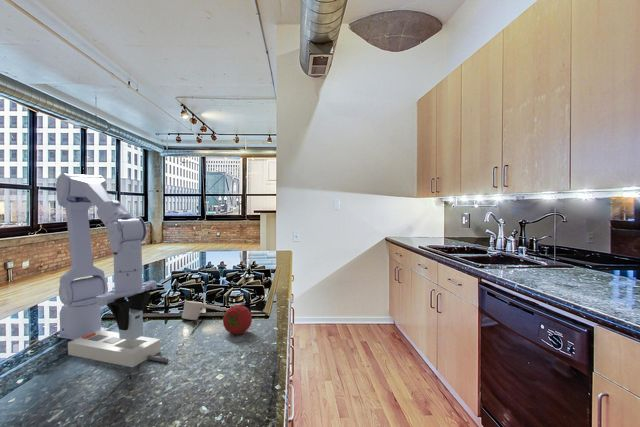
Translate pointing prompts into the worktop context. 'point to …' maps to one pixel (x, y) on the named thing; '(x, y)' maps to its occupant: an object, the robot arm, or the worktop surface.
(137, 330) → the block
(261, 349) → the worktop surface
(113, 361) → the power strip
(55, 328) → the worktop surface
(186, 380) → the worktop surface
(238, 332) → the tomato
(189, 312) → the toilet paper hanger
